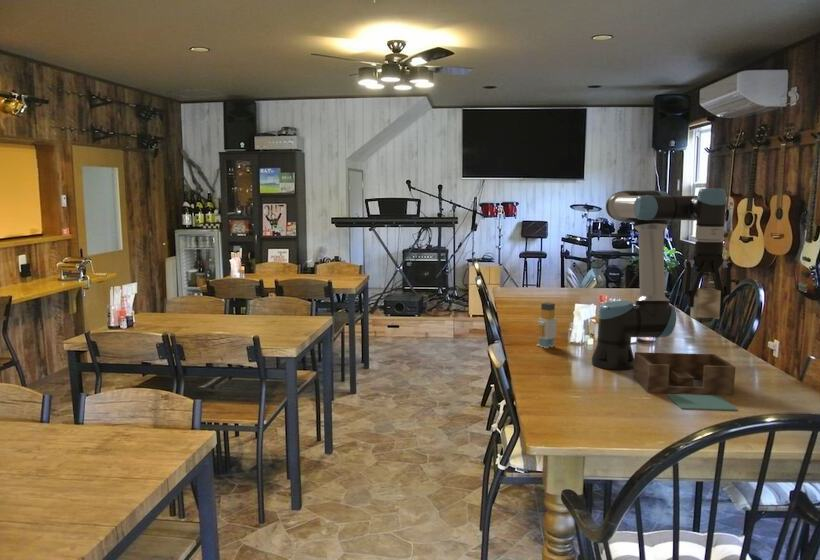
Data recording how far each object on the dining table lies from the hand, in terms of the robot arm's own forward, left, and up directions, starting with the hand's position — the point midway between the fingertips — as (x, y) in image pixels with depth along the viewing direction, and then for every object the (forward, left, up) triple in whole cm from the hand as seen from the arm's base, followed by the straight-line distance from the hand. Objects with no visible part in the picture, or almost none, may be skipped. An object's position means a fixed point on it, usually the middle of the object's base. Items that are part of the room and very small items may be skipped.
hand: (704, 318), depth 192 cm
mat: (0, -2, -26) cm, 26 cm away
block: (0, 0, +1) cm, 1 cm away
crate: (0, +15, -26) cm, 30 cm away
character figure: (-37, +67, -26) cm, 81 cm away
